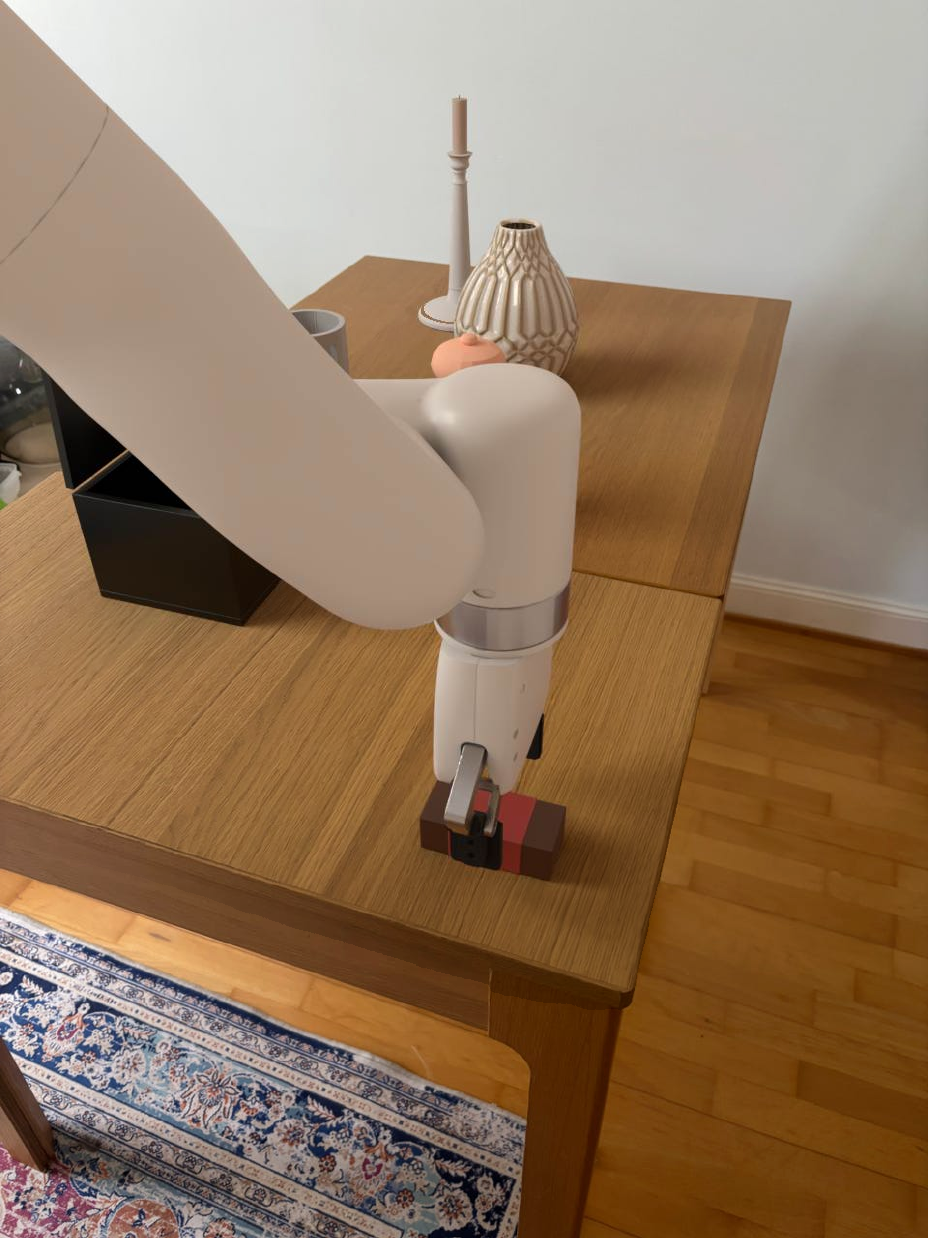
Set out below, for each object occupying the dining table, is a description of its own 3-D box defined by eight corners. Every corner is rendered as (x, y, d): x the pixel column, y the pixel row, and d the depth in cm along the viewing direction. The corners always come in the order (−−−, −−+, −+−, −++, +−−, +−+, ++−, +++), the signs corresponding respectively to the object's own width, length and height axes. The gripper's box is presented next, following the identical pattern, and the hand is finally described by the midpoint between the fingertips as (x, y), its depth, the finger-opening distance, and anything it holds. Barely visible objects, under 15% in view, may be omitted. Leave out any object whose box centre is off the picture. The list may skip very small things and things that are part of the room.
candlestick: (408, 327, 141) (400, 100, 122) (430, 299, 151) (425, 85, 132) (493, 334, 138) (497, 104, 120) (509, 305, 148) (515, 88, 130)
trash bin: (305, 551, 93) (293, 452, 86) (242, 626, 83) (223, 521, 77) (175, 527, 96) (154, 430, 90) (101, 596, 87) (71, 493, 80)
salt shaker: (517, 515, 98) (524, 335, 86) (465, 540, 94) (465, 355, 83) (471, 489, 102) (472, 314, 91) (419, 512, 99) (413, 332, 87)
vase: (582, 365, 129) (595, 210, 117) (563, 414, 117) (575, 247, 105) (470, 354, 133) (470, 202, 120) (440, 400, 120) (437, 237, 108)
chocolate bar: (564, 835, 65) (567, 805, 63) (549, 883, 62) (552, 852, 60) (440, 804, 67) (439, 774, 65) (420, 848, 64) (418, 818, 62)
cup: (296, 399, 121) (285, 305, 113) (363, 407, 119) (356, 312, 111) (265, 429, 114) (251, 332, 107) (335, 439, 112) (326, 340, 105)
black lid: (133, 262, 80) (78, 251, 81) (36, 311, 70) (-25, 298, 71) (156, 426, 89) (107, 414, 90) (73, 490, 80) (19, 475, 81)
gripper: (482, 506, 59) (483, 706, 70) (377, 682, 46) (397, 895, 57) (600, 524, 57) (583, 728, 68) (525, 713, 44) (518, 928, 55)
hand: (498, 804), depth 62 cm, fingers open, 9 cm apart
